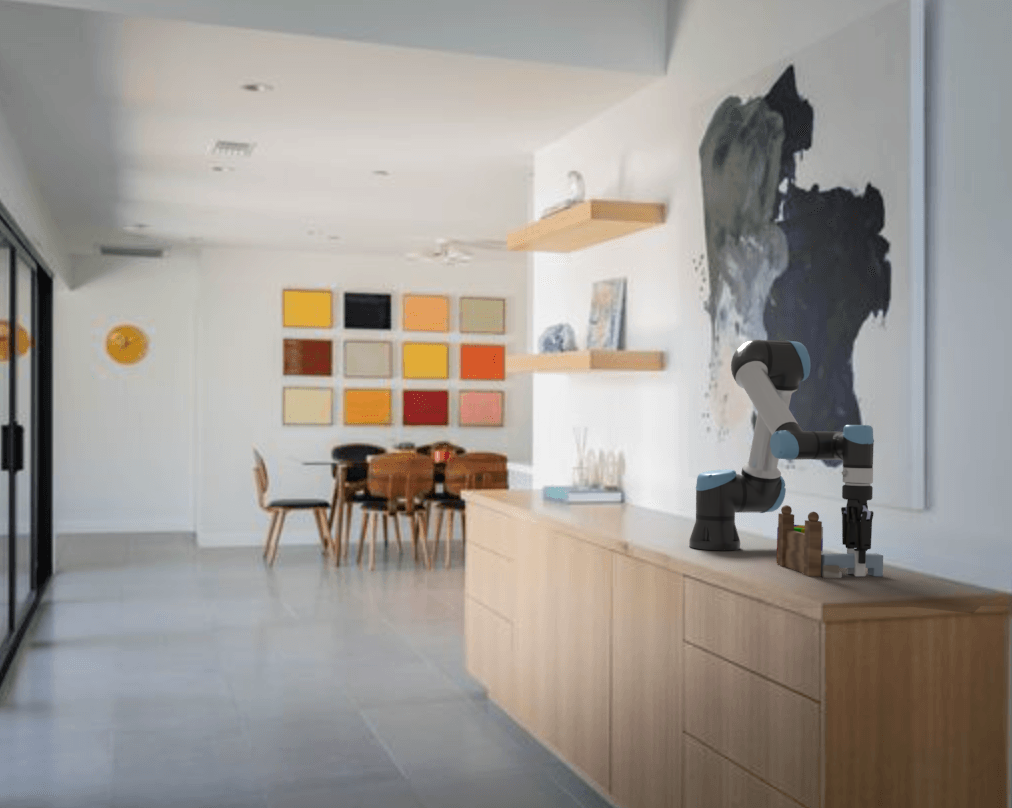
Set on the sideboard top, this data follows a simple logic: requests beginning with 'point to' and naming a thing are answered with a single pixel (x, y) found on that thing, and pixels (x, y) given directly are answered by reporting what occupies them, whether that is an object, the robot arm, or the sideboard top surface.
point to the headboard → (802, 546)
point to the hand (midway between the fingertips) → (855, 574)
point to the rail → (847, 561)
